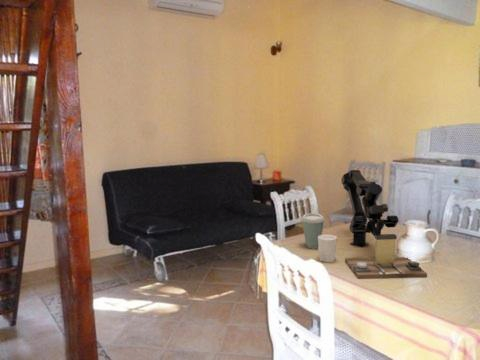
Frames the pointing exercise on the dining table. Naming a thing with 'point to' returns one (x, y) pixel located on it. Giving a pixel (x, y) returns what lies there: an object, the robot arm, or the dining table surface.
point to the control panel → (385, 269)
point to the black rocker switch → (413, 263)
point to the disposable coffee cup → (312, 228)
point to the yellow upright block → (385, 250)
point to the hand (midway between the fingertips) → (378, 239)
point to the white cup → (327, 247)
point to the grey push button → (362, 265)
